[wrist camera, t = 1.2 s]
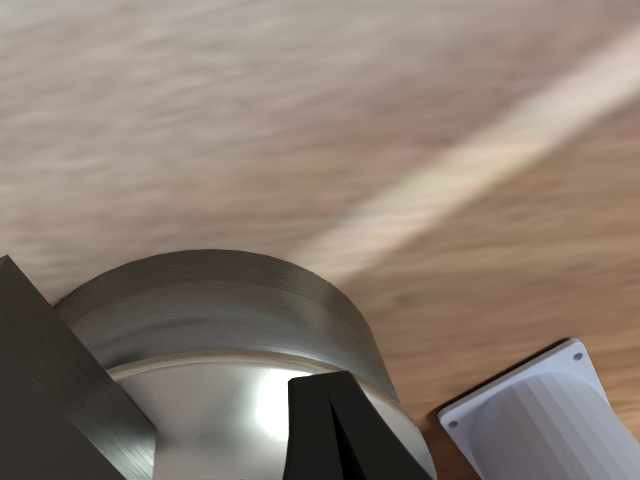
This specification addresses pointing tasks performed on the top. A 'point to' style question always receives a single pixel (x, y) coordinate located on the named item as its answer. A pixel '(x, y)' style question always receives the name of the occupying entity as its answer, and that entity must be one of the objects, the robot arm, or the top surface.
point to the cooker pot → (220, 312)
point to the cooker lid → (147, 405)
